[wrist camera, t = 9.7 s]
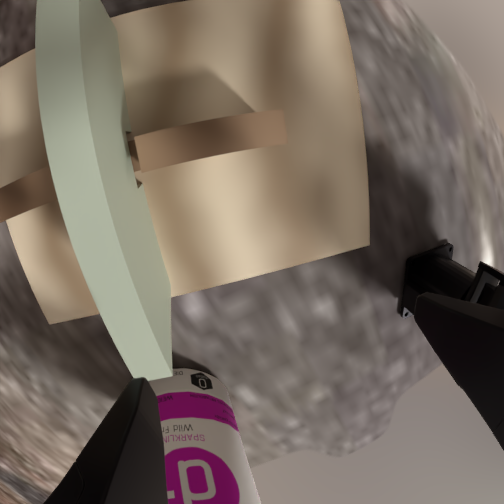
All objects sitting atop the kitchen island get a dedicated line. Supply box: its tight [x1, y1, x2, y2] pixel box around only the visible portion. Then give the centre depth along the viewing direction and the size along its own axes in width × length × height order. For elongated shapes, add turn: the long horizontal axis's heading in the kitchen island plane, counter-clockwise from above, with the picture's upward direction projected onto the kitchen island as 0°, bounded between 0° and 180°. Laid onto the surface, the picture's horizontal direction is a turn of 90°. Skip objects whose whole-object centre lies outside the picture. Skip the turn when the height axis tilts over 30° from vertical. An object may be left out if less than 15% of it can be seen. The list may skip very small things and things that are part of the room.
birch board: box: [0, 0, 370, 325], centre depth 15 cm, size 24×18×1 cm
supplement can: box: [148, 368, 262, 504], centre depth 16 cm, size 8×8×15 cm
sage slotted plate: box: [35, 0, 173, 381], centre depth 11 cm, size 16×2×8 cm, turn 9°
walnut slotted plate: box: [0, 109, 288, 223], centre depth 13 cm, size 16×2×4 cm, turn 99°
